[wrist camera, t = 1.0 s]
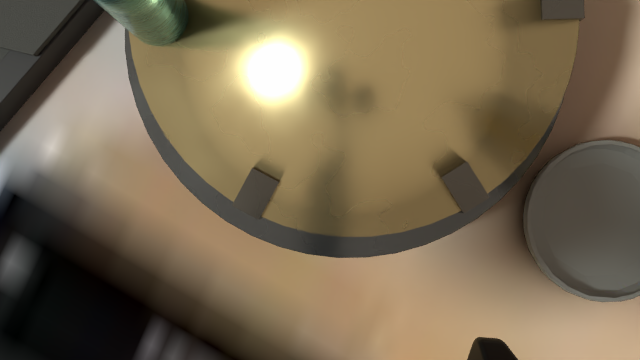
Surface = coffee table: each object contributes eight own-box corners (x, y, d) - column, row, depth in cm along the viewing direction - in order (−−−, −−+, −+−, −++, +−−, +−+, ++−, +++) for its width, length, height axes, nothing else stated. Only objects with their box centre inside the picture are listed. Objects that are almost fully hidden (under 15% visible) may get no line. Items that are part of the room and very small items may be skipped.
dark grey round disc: (404, 327, 22) (415, 346, 20) (56, 99, 22) (22, 88, 20) (618, -6, 23) (658, -31, 20) (276, -229, 23) (272, -283, 20)
